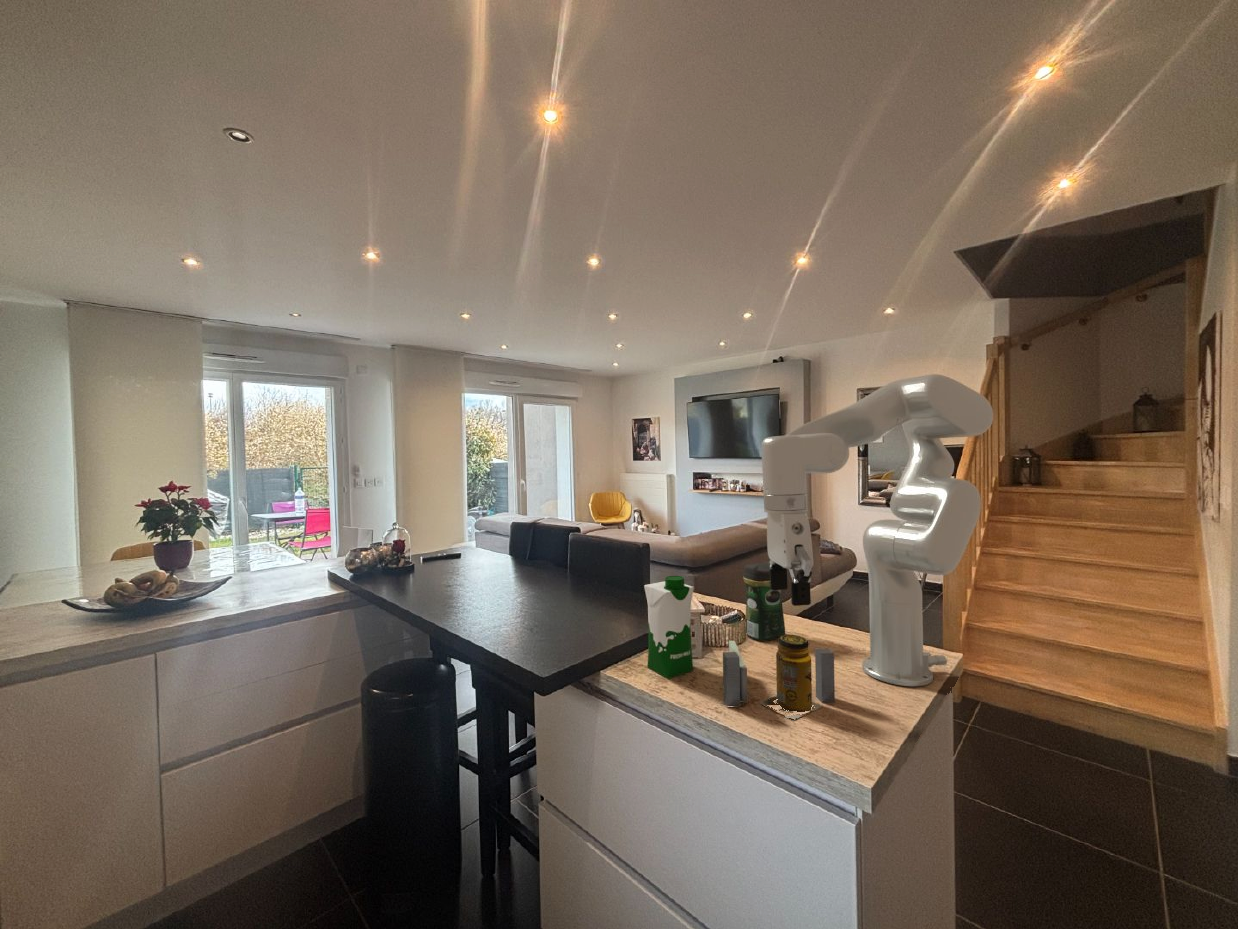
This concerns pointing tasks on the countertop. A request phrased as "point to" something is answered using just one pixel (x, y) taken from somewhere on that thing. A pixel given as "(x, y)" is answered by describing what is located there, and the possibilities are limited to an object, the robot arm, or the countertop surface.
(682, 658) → the milk carton
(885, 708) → the countertop surface
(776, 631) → the coffee jar
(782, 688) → the condiment
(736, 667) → the gate posts
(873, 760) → the countertop surface
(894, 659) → the robot arm
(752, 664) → the countertop surface
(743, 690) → the panel
